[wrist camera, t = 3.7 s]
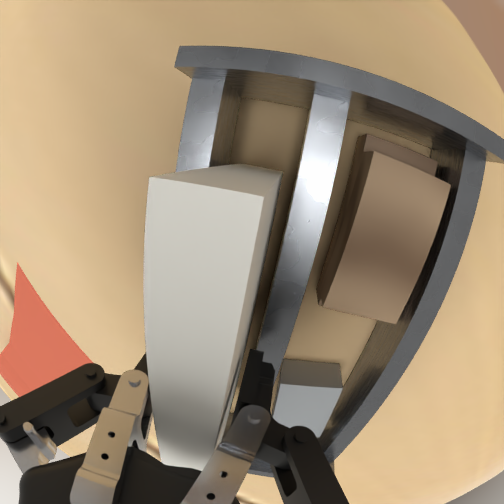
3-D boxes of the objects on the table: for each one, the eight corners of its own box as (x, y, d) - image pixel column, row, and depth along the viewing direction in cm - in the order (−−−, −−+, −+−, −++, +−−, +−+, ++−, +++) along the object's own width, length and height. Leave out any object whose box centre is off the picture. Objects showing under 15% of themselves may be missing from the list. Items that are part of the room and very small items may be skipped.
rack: (217, 80, 14) (179, 46, 8) (453, 143, 13) (511, 145, 7) (182, 404, 24) (161, 449, 18) (329, 434, 23) (330, 481, 17)
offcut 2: (356, 137, 14) (367, 133, 12) (419, 160, 14) (437, 161, 12) (315, 286, 18) (318, 304, 16) (375, 299, 18) (384, 318, 15)
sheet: (76, 429, 34) (-9, 330, 30) (172, 388, 28) (38, 225, 24) (64, 448, 29) (-26, 344, 25) (158, 421, 23) (4, 236, 18)
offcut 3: (363, 151, 12) (374, 151, 11) (433, 180, 12) (451, 184, 10) (319, 289, 15) (322, 307, 13) (386, 306, 15) (395, 324, 13)
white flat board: (242, 163, 16) (149, 176, 5) (283, 171, 16) (264, 197, 5) (208, 380, 22) (167, 485, 12) (236, 387, 22) (204, 496, 12)
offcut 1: (283, 356, 20) (280, 383, 17) (339, 361, 20) (342, 388, 17) (272, 408, 23) (268, 433, 20) (319, 412, 22) (319, 437, 19)
